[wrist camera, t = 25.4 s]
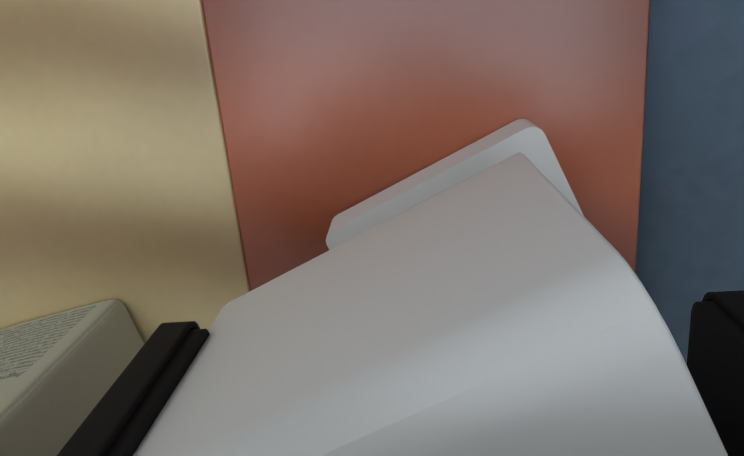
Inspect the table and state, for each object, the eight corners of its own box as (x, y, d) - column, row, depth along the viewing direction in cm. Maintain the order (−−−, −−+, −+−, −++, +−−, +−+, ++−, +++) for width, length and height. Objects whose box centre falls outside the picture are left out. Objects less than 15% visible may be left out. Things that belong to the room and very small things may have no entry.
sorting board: (616, 421, 18) (627, 443, 17) (-21, 445, 20) (-42, 467, 19) (670, -764, 11) (697, -841, 10) (-381, -564, 12) (-447, -611, 11)
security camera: (266, 233, 16) (67, 547, 6) (519, 97, 14) (749, 234, 5) (386, 422, 17) (372, 901, 8) (624, 315, 16) (949, 733, 7)
